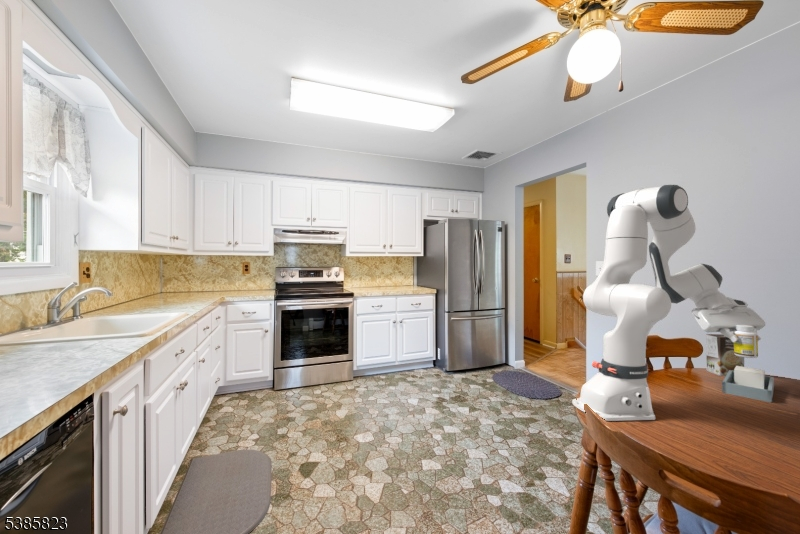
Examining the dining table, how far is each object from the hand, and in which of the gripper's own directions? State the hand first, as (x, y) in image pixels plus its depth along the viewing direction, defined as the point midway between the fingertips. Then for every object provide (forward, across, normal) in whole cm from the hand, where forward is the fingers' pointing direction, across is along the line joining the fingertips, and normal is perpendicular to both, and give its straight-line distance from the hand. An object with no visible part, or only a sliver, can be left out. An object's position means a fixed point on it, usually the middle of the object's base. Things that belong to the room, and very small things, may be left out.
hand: (747, 340), depth 107 cm
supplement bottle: (+4, 0, +4) cm, 6 cm away
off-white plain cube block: (+8, +9, +18) cm, 21 cm away
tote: (+10, +5, +17) cm, 20 cm away
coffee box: (-1, +15, +29) cm, 33 cm away
